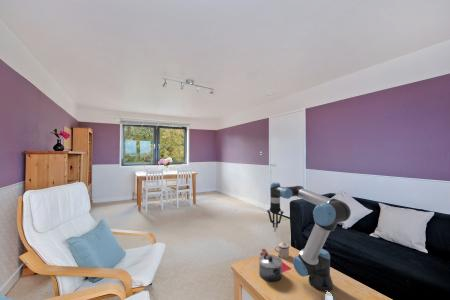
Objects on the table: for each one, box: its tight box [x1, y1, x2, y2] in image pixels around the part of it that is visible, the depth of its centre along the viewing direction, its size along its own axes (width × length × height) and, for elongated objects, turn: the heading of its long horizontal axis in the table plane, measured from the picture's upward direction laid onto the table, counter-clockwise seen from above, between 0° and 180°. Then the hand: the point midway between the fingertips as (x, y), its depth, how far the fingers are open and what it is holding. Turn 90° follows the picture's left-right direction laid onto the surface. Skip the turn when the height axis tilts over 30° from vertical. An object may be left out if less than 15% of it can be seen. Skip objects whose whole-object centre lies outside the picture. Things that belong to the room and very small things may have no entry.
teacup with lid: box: [274, 241, 290, 259], centre depth 174 cm, size 12×9×12 cm
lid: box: [258, 248, 283, 269], centre depth 150 cm, size 23×17×4 cm
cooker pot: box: [258, 252, 283, 283], centre depth 149 cm, size 26×16×9 cm, turn 12°
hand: (275, 231), depth 160 cm, fingers closed
